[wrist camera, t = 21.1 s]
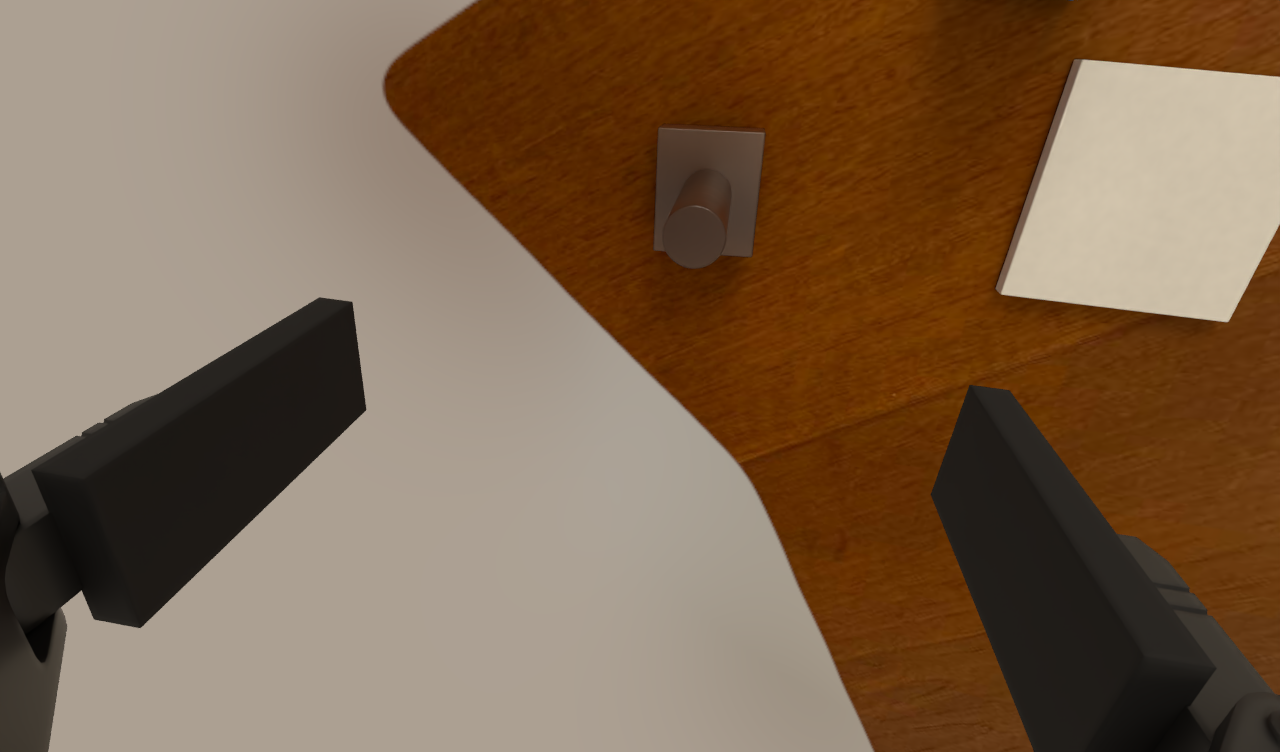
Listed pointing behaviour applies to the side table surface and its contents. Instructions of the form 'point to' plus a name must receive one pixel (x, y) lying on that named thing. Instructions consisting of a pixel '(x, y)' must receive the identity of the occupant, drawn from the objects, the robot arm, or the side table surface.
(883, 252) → the side table surface
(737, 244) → the stamp
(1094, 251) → the tile
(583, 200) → the side table surface
